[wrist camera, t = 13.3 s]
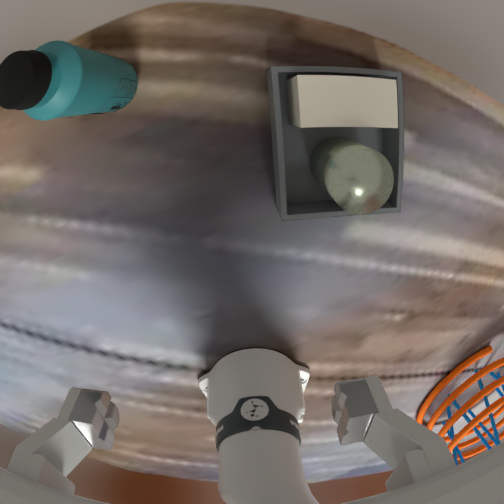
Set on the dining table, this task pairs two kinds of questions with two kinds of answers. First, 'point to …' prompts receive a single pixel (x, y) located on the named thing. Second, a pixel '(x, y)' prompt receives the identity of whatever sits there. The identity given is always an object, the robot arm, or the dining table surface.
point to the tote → (305, 140)
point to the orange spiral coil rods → (468, 408)
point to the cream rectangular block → (342, 101)
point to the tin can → (352, 174)
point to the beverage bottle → (65, 81)
